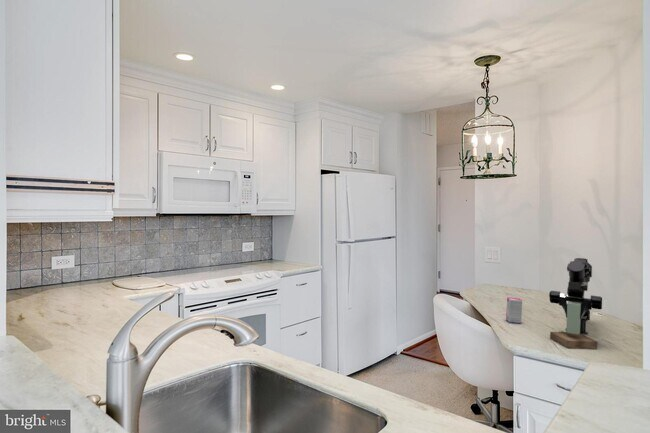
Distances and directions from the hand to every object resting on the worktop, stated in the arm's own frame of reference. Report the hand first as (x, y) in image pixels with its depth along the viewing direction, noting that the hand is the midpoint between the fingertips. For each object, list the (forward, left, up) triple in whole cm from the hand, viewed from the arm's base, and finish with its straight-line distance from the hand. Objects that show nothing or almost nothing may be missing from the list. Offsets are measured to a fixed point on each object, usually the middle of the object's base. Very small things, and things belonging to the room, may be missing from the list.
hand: (573, 316), depth 165 cm
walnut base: (-1, -1, -11) cm, 12 cm away
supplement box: (+9, -32, -12) cm, 35 cm away
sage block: (-1, -1, -7) cm, 7 cm away
